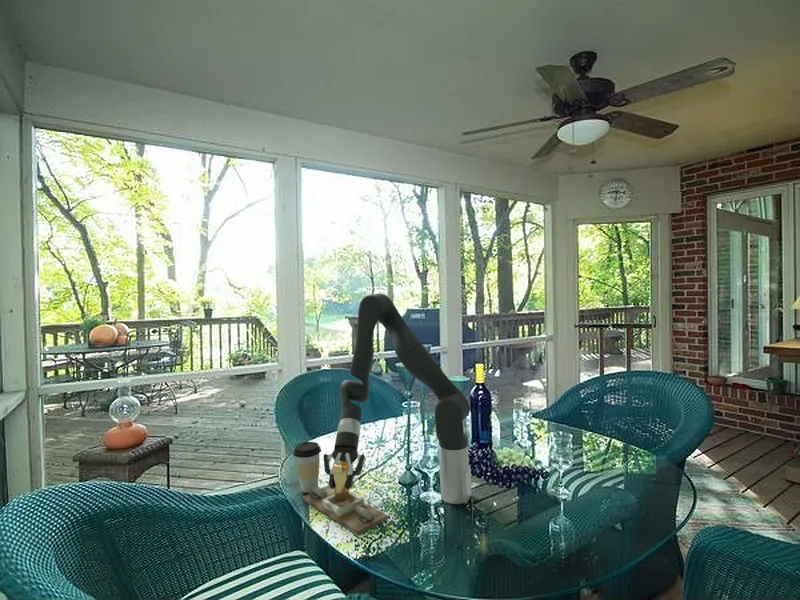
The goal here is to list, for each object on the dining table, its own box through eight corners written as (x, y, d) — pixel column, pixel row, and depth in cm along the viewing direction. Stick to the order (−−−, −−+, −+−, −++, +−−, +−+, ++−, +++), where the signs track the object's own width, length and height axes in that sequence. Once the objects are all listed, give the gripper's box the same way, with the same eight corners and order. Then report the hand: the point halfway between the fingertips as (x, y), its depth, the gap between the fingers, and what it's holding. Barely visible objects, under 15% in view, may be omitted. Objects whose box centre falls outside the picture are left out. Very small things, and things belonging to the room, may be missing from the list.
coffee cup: (313, 479, 161) (310, 438, 160) (328, 487, 155) (326, 445, 154) (290, 489, 155) (287, 446, 154) (305, 498, 148) (302, 454, 147)
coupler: (352, 495, 141) (350, 461, 141) (344, 502, 137) (343, 467, 136) (339, 493, 143) (337, 459, 142) (331, 500, 139) (330, 465, 138)
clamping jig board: (387, 519, 134) (386, 506, 133) (358, 535, 126) (357, 522, 126) (330, 487, 155) (329, 477, 154) (302, 500, 147) (302, 488, 147)
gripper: (324, 430, 147) (314, 483, 136) (367, 430, 145) (360, 484, 134) (329, 439, 153) (320, 491, 142) (371, 440, 151) (365, 493, 140)
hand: (340, 488), depth 138 cm, fingers closed on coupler, 4 cm apart
